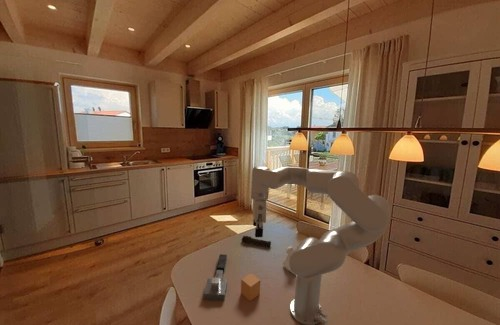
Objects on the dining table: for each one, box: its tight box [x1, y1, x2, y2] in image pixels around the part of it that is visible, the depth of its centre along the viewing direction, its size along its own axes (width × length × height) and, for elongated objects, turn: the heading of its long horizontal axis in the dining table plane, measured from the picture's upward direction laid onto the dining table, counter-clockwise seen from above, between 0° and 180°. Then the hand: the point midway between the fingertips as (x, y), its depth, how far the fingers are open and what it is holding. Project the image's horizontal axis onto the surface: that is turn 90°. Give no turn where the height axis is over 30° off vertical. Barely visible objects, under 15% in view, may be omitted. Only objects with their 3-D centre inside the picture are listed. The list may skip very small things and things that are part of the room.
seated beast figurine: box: [282, 245, 296, 276], centre depth 112 cm, size 10×9×12 cm
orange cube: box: [240, 273, 261, 302], centre depth 95 cm, size 6×6×7 cm
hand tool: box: [241, 235, 272, 249], centre depth 135 cm, size 19×4×5 cm, turn 70°
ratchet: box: [202, 253, 228, 302], centre depth 105 cm, size 29×9×6 cm, turn 179°
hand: (257, 231), depth 95 cm, fingers open, 9 cm apart
